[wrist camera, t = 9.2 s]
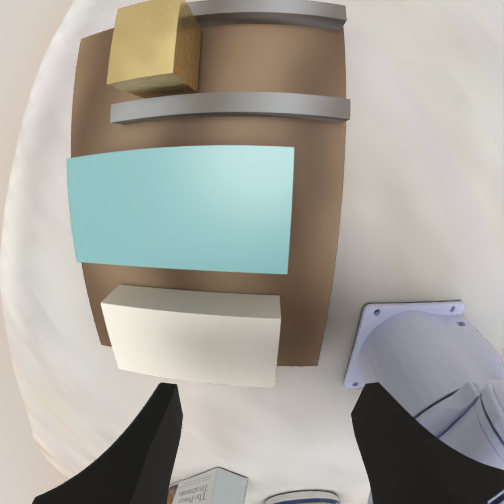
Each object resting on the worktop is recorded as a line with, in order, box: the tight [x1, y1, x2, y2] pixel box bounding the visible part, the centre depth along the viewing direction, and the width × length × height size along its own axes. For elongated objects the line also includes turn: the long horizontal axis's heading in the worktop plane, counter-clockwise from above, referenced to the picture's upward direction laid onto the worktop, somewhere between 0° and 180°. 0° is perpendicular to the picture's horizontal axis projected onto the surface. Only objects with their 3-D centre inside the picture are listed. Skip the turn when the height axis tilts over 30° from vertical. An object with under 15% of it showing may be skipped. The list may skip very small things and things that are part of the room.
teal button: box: [67, 145, 294, 274], centre depth 12 cm, size 10×5×2 cm, turn 89°
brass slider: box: [107, 0, 202, 99], centre depth 10 cm, size 3×4×4 cm
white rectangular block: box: [101, 284, 281, 388], centre depth 16 cm, size 10×5×2 cm, turn 89°
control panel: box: [71, 0, 350, 366], centre depth 15 cm, size 16×22×4 cm
